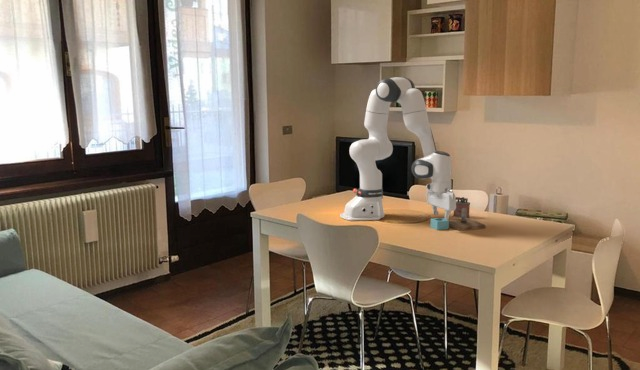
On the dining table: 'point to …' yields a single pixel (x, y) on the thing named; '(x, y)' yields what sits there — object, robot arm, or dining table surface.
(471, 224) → the post base
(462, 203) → the lighter
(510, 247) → the dining table surface
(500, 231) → the dining table surface
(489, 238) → the dining table surface
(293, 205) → the dining table surface
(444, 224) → the collar
